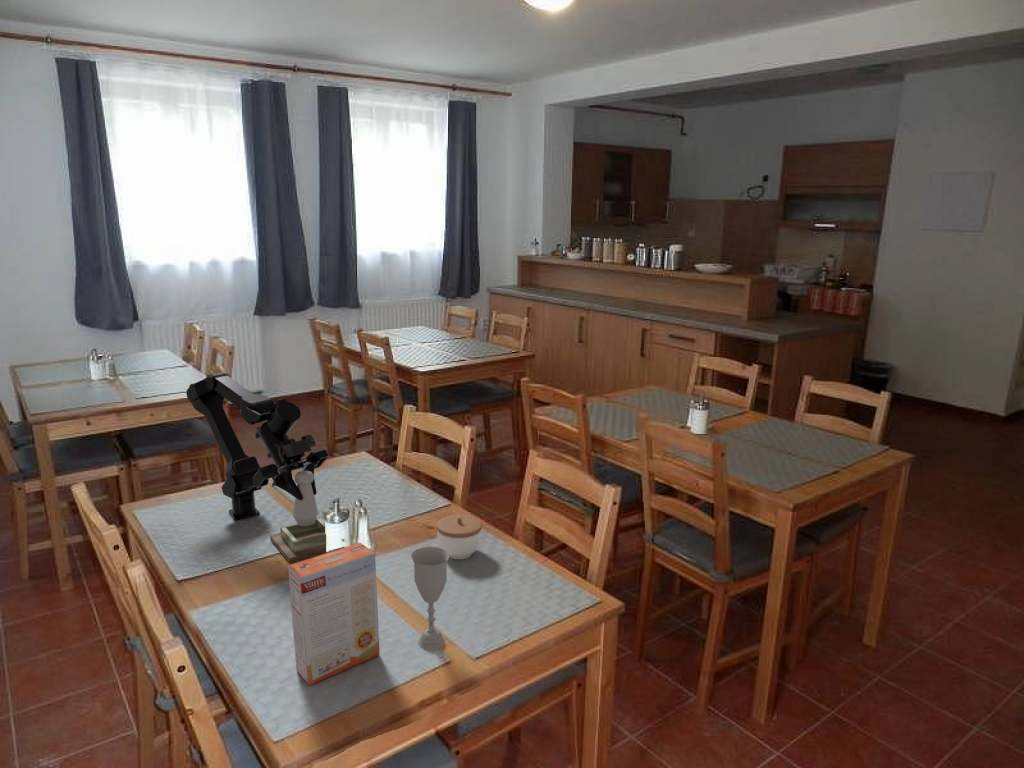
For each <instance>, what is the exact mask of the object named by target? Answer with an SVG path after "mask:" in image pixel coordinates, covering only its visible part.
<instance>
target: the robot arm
mask: <svg viewBox="0 0 1024 768" xmlns="http://www.w3.org/2000/svg"><path fill="white" fill-rule="evenodd" d="M186 398H187V399H188V401H189V402H190V404H191V405H192V407H193V408H194V410H195V411H197V412H199V414H202V415H203V416H204V417H205V420H206V422H207V423H208V425H209V428H210V429H211V432H212V434H213V436H214V438H215V439H216V443H217V444H218V446H219V448H220V450H221V453H222V455H223V457H224V459H225V461H226V467H225V477H226V480H225V481H224V483H223V484H222V486H221V491H222V494H223V496H226V497H228V498H230V499H231V509H229V510H228V514H229V515H231V517H232V518H233V520H234V521H237V520H243V519H247V518H251V517H254V516H259V515H260V513H261V512H260V511H259V510H258V508H257V507H256V499H255V492H256V491H260V490H262V488H263V487H265V486H267V485H268V484H269V482H270V479H272V481H273V482H272V483H271V485H272V487H277V488H279V489H281V490H283V491H285V492H286V493H288V494H289V495H291V496H293V497H294V498H297V499H298V500H300V501H301V500H302V499H303V496H302V494H301V492H300V490H299V489H298V487H297V485H298V484H297V483H296V482H295V479H293V471H296V470H298V471H299V472H300V471H310V472H312V473H313V476H314V477H315V470H316V469H319V468H321V467H322V465H323V464H324V463H325V462H326V461H327V460H328V459H329V458H330V454H329V452H328V450H327V449H325V448H319V449H316V450H312V447H315V446H316V441H315V438H314V437H313V435H312V434H311V433H309V434H306V435H303V436H301V437H300V439H301V440H298V441H296V439H294V437H293V438H290V437H289V435H288V433H290V431H291V430H292V428H294V426H295V425H296V423H297V422H298V421H299V419H300V418H301V416H302V413H301V410H300V408H299V406H297V405H296V404H295V403H293V402H290V401H287V400H286V398H285V397H284V398H283V397H282V398H278V399H277V400H276V402H275V400H274V399H273V398H271V397H268V396H266V395H263V394H258V393H257V394H256V393H253V392H251V391H250V390H249V389H247V388H245V387H244V386H243V385H242V384H240V383H238V382H237V381H236V380H235V379H233V378H231V376H230V374H229V373H227V372H219V373H213V374H209V375H208V376H206V377H205V378H203V379H201V380H199V381H197V382H194V383H190V384H189V386H188V388H187V389H186ZM225 399H226V400H227V401H228V402H230V403H231V404H232V405H233V406H236V408H238V409H239V411H240V412H239V413H240V416H241V418H242V419H243V420H244V421H245V422H246V423H247V424H248V425H251V426H254V425H257V424H261V423H262V424H261V426H257V427H256V433H255V439H261V441H262V442H263V444H264V446H265V448H266V450H267V451H268V453H267V454H266V456H267V458H268V459H271V458H272V461H273V462H274V463H271V464H268V465H264V466H261V465H260V464H259V462H258V459H257V458H256V456H254V455H252V456H249V455H247V454H246V453H245V451H244V448H243V447H242V445H241V442H240V440H239V438H238V436H237V433H236V432H235V430H234V428H233V426H232V424H231V422H230V419H229V417H228V415H227V412H226V411H225V409H224V403H225ZM306 452H307V453H308V452H309V454H308V455H306ZM305 455H306V457H305V458H304V456H305ZM311 485H312V489H313V493H314V496H316V495H317V493H318V492H317V488H316V487H317V486H316V481H315V478H314V479H313V482H311Z"/></svg>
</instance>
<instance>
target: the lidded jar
mask: <svg viewBox="0 0 1024 768" xmlns="http://www.w3.org/2000/svg"><path fill="white" fill-rule="evenodd" d="M482 529H483V523H482V520H481V519H480V518H478V517H476V516H473V515H470V514H463V513H462V514H460V513H459V514H457V513H456V514H450V515H446V516H444V517H441V518H440V519H439V520H438V521H437V523H436V530H437V540H438V545H439V548H441V549H444V550H446V551H447V552H448V553H449V559H452V560H466V559H468V558H470V557H472V555H473V554H474V553H475V552H476V551H477V549H478V548H479V546H480V544H481V538H482Z"/></svg>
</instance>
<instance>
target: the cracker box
mask: <svg viewBox="0 0 1024 768" xmlns="http://www.w3.org/2000/svg"><path fill="white" fill-rule="evenodd" d="M376 565H377V564H376V552H374V551H373V550H371V549H370V548H369V547H368V546H366V545H365V544H364V543H361V542H358V543H355V544H351V545H347V547H345V548H341V549H338V550H334V551H330V552H327V553H323V554H320V555H316V556H313V557H310V558H306V559H303V560H302V561H301V560H300V561H297V562H294V563H292V564H289V565H288V566H287V568H288V569H287V572H288V582H289V596H290V607H291V617H292V618H291V619H292V630H293V631H292V632H293V642H294V654H295V655H294V656H295V666H296V667H295V668H296V671H297V672H298V674H299V675H300V676H301V678H302V679H303V680H304V681H305V682H306V684H307V685H308V686H312V685H314V684H316V683H319V682H321V681H324V680H325V679H328V678H330V677H332V676H335V675H336V674H337V675H338V674H339V673H341V672H343V671H345V670H348V669H350V668H352V667H355V666H357V665H359V664H362V663H363V662H366V661H369V660H371V659H374V658H376V657H378V656H379V655H380V650H381V649H380V633H379V610H378V609H379V607H378V591H377V590H378V589H377V588H378V587H377V568H376V567H377V566H376Z"/></svg>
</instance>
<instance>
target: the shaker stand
mask: <svg viewBox="0 0 1024 768" xmlns="http://www.w3.org/2000/svg"><path fill="white" fill-rule="evenodd" d="M324 522H325V521H324V520H323V519H322V518H321V517H317V518H316V521H315V523H314V524H312V525H310V526H300V525H299V524H297V522H295V523H291V524H287V525H283V526H280V527H279V528H280V532H279V533H274V534H271V535H269V537H270V538H269V539H270V541H271V543H272V544H273V545H274V546H275V547H276V548H277V550H278V551H279V552H280V553H281V554H282V555H283V557H284V559H286V561H287V562H288V563H289V564H290V563H295V562H299V561H301V560H302V561H303V560H306V559H310V558H313V557H317V556H320V555H323V554H326V534H325V523H324Z"/></svg>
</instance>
